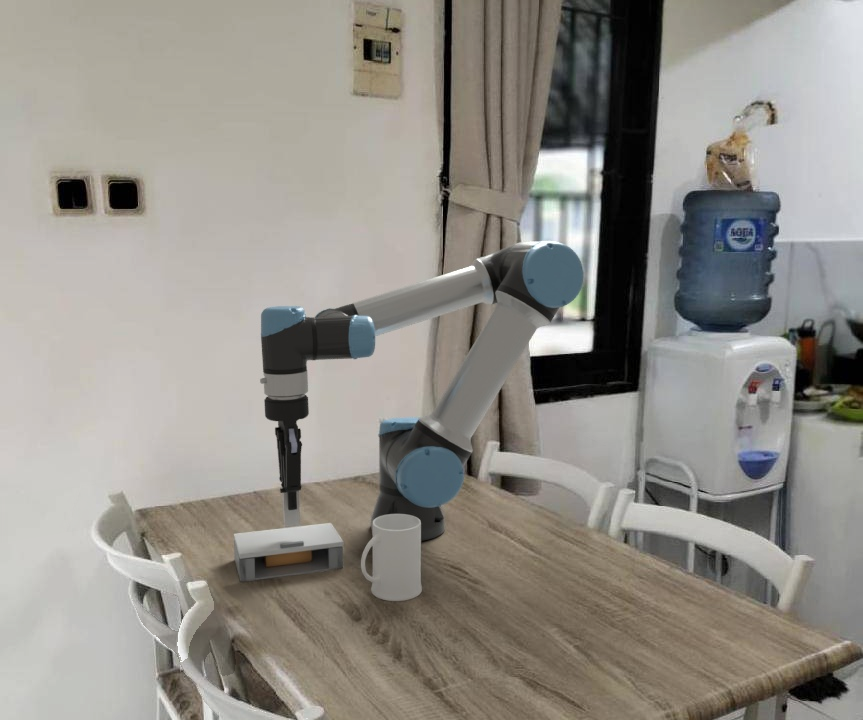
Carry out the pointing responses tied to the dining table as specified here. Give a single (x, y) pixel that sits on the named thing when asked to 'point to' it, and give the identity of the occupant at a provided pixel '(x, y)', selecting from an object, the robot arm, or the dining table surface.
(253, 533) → the lid
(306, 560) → the tan foam roller
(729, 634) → the dining table surface
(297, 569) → the shallow grey tray
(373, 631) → the dining table surface
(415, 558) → the mug
